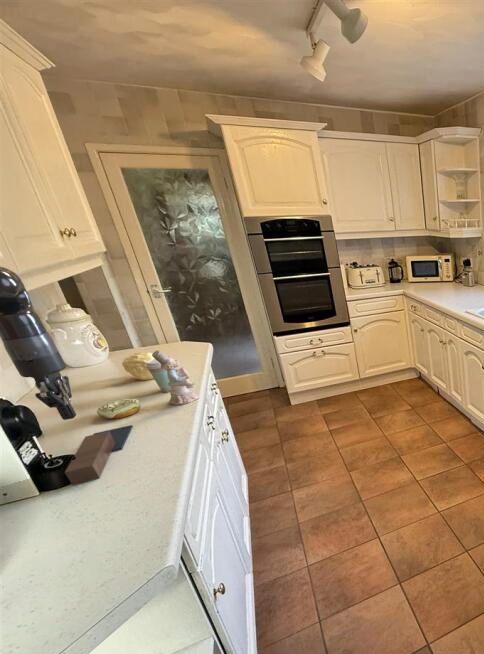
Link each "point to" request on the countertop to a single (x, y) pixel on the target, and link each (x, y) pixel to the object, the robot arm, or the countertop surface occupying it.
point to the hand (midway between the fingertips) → (70, 417)
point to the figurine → (176, 380)
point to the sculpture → (138, 365)
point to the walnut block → (90, 458)
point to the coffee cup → (159, 374)
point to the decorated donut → (119, 409)
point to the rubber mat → (119, 436)
